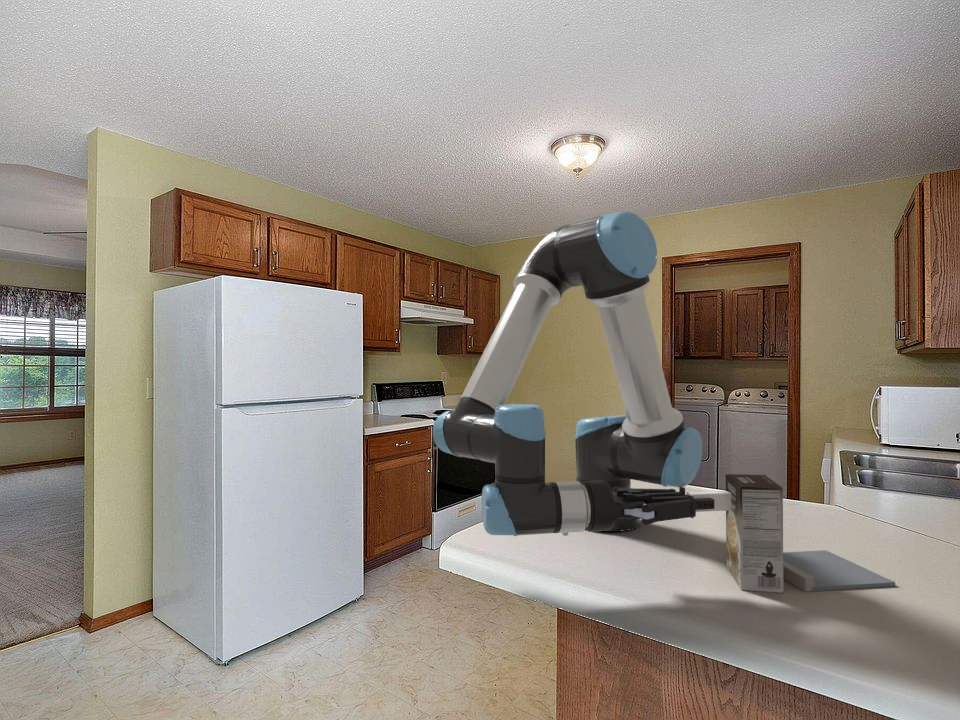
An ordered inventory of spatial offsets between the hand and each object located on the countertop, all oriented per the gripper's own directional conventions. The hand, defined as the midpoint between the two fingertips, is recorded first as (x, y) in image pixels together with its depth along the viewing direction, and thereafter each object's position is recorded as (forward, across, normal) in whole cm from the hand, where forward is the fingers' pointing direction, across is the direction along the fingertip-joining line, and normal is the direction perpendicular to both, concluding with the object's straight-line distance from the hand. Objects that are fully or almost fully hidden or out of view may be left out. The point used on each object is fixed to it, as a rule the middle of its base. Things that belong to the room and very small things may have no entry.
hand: (728, 500), depth 83 cm
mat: (+17, -3, -13) cm, 22 cm away
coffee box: (+5, -1, -13) cm, 14 cm away
